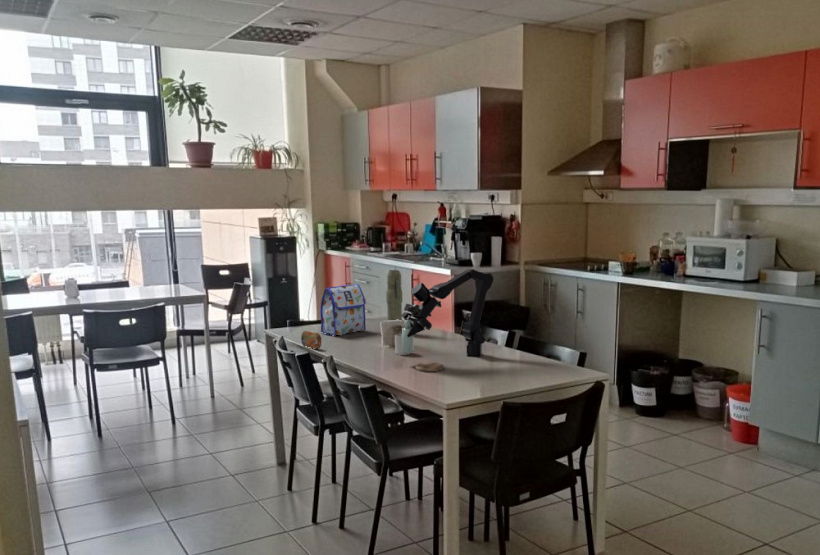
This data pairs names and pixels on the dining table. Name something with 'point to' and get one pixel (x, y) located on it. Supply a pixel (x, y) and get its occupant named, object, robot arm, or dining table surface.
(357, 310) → the lunch bag
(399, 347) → the cup
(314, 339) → the tin
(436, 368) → the tan flat disc
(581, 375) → the dining table surface
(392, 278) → the thermos
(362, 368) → the dining table surface
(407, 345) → the ceramic bottle
